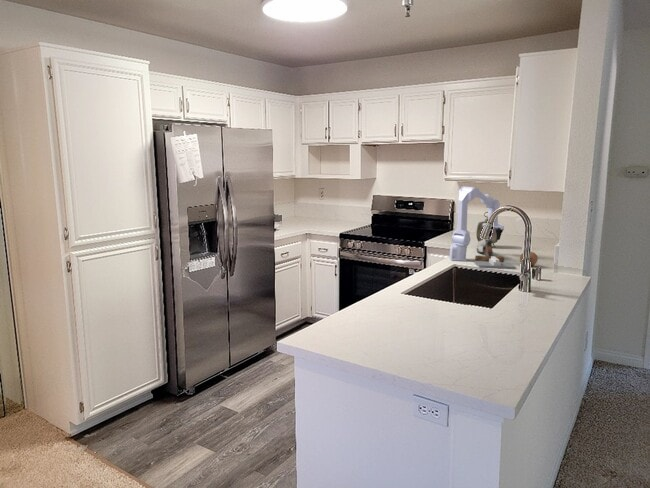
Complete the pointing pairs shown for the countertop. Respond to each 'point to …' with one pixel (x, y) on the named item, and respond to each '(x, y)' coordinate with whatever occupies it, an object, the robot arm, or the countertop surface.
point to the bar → (486, 258)
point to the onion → (531, 258)
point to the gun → (485, 247)
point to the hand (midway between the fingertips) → (493, 238)
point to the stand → (494, 264)
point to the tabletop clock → (480, 227)
